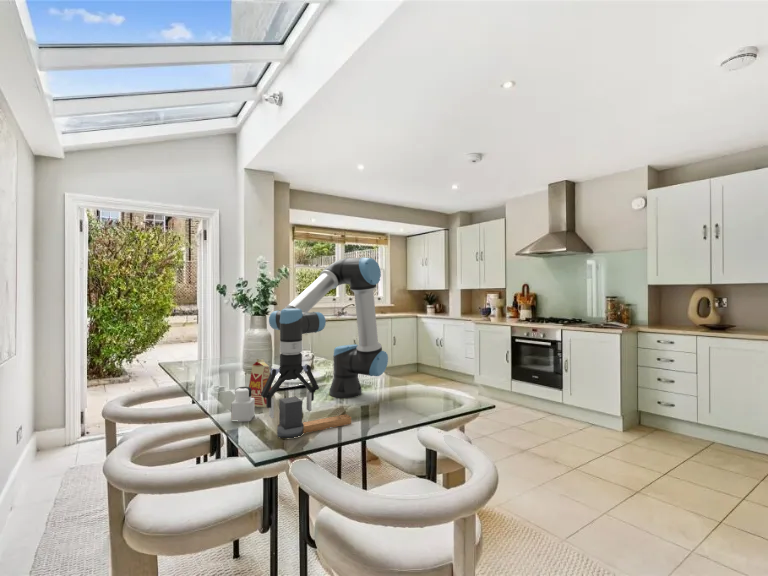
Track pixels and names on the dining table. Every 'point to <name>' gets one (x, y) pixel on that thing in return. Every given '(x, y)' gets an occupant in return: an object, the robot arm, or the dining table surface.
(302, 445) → the dining table surface
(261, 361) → the milk carton
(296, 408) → the dark grey block
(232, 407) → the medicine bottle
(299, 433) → the hammer
